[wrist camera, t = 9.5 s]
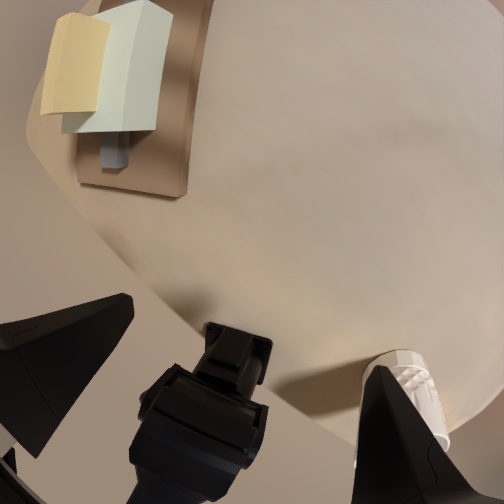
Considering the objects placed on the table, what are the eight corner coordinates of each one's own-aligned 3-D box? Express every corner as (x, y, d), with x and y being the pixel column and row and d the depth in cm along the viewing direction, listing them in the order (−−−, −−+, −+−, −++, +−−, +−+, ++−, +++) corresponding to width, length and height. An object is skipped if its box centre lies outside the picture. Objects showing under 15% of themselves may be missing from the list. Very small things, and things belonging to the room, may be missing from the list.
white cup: (440, 342, 21) (466, 427, 12) (417, 396, 23) (426, 472, 15) (363, 343, 23) (366, 437, 14) (350, 397, 26) (344, 477, 17)
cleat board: (186, 193, 22) (167, 201, 19) (87, 179, 24) (66, 185, 22) (219, -26, 14) (205, -42, 11) (112, 0, 16) (93, -8, 13)
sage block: (155, 130, 19) (75, 134, 12) (94, 130, 20) (22, 139, 13) (173, 14, 15) (106, -21, 8) (109, 30, 16) (42, 14, 9)
